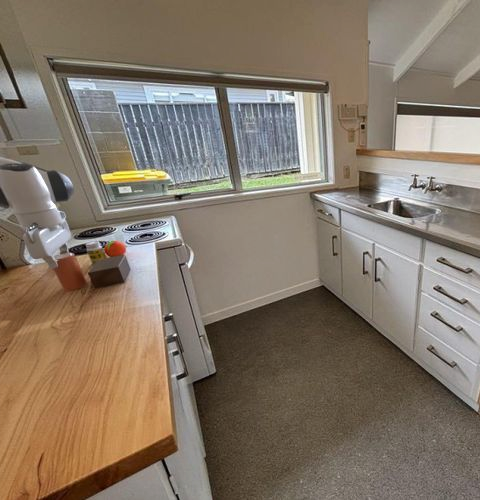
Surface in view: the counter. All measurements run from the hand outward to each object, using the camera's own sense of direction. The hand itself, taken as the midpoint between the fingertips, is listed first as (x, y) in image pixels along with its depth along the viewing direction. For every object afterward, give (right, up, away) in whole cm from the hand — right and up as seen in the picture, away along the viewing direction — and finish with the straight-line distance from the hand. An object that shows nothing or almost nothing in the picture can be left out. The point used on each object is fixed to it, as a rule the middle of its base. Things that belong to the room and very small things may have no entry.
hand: (60, 261), depth 90 cm
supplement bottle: (-7, -1, +22) cm, 23 cm away
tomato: (-3, 0, +26) cm, 26 cm away
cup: (-2, -4, +1) cm, 5 cm away
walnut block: (+10, -6, +8) cm, 14 cm away
